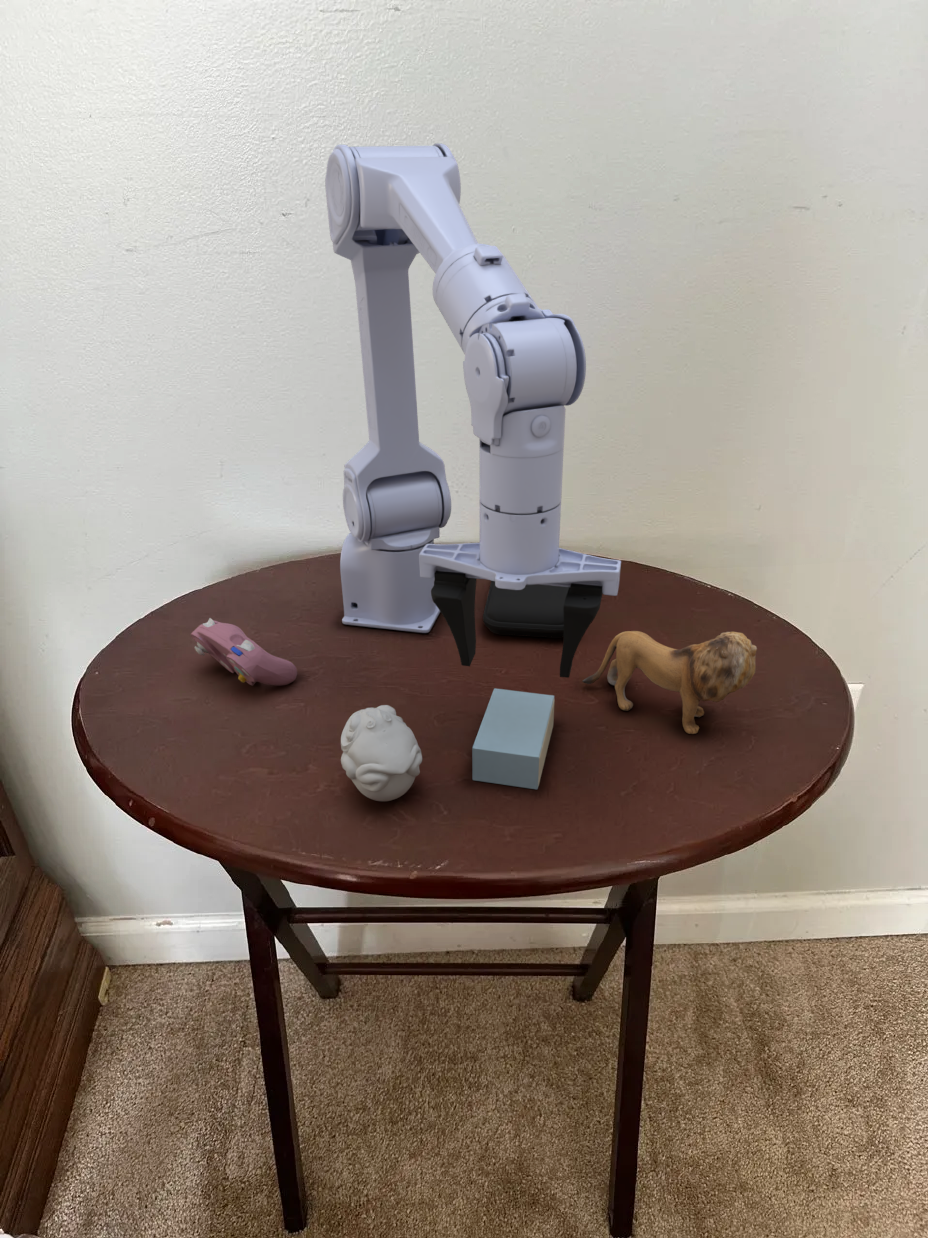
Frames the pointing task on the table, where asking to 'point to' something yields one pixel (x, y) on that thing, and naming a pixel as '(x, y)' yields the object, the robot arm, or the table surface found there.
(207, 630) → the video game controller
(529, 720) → the pale blue rectangular box
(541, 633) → the carrying case
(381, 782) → the frog figurine
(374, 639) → the table surface
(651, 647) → the lion figurine
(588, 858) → the table surface
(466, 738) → the table surface
